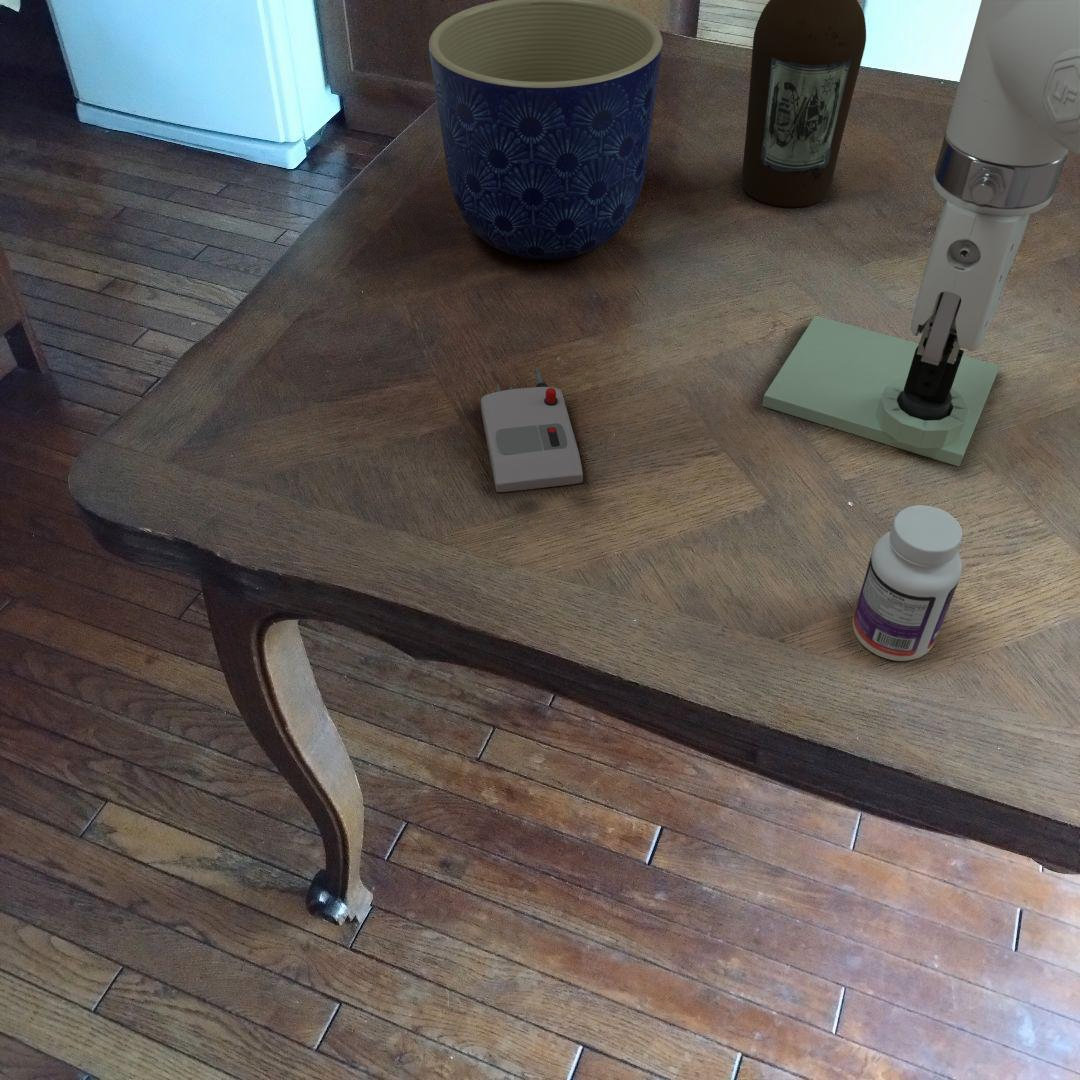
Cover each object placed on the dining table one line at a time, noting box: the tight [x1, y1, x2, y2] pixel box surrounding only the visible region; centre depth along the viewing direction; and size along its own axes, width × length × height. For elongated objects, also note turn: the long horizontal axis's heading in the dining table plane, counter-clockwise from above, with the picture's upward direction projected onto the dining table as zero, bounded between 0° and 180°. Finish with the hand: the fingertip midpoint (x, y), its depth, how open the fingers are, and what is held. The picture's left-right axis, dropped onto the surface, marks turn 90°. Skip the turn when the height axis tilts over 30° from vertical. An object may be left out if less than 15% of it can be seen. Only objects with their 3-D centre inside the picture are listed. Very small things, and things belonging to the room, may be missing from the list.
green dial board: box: [761, 315, 1000, 467], centre depth 87 cm, size 16×14×3 cm
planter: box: [428, 0, 664, 261], centre depth 100 cm, size 21×21×19 cm
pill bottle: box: [852, 504, 963, 662], centre depth 67 cm, size 5×5×10 cm
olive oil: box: [740, 0, 867, 208], centre depth 104 cm, size 11×11×25 cm
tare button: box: [899, 391, 952, 421], centre depth 82 cm, size 4×4×2 cm
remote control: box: [480, 365, 584, 493], centre depth 83 cm, size 7×16×3 cm, turn 9°
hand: (926, 392), depth 82 cm, fingers closed
